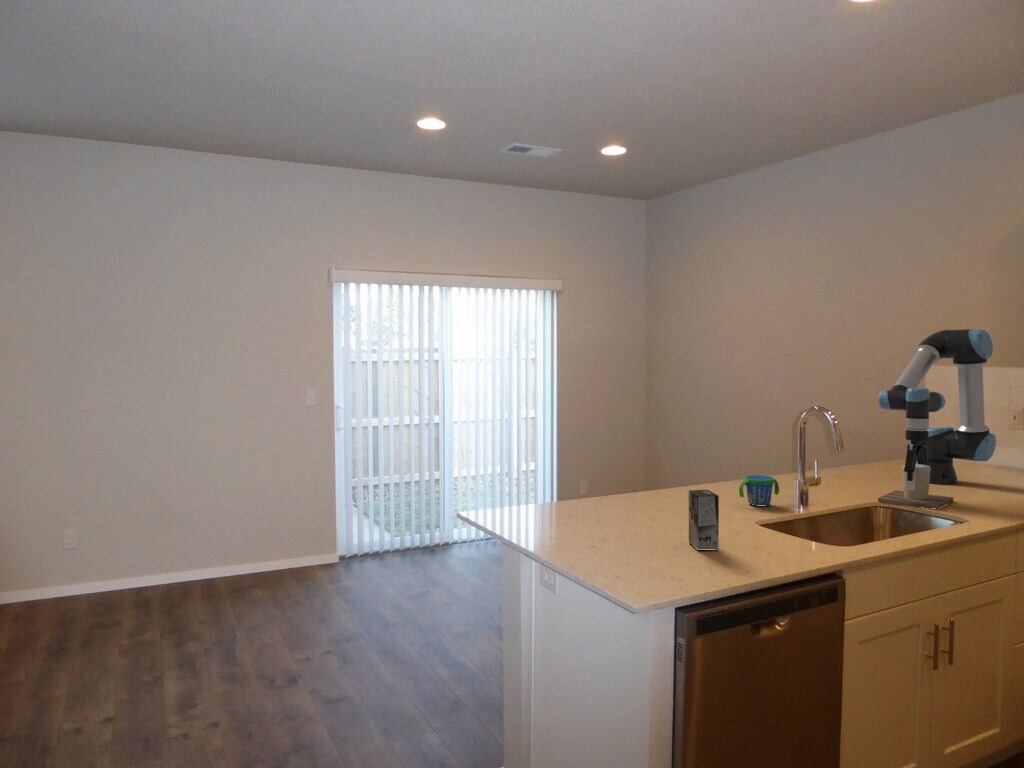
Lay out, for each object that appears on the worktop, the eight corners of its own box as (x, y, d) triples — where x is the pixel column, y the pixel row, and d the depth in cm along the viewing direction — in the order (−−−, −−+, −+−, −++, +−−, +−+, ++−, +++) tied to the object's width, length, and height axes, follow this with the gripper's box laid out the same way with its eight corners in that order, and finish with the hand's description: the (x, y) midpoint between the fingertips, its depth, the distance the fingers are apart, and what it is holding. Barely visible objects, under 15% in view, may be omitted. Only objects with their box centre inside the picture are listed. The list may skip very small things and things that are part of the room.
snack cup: (746, 509, 262) (746, 481, 261) (732, 502, 272) (732, 475, 272) (786, 507, 264) (786, 479, 264) (771, 501, 275) (771, 474, 274)
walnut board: (895, 493, 286) (895, 490, 286) (953, 501, 272) (953, 497, 271) (877, 502, 271) (877, 498, 271) (937, 510, 257) (938, 505, 257)
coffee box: (719, 551, 209) (719, 495, 208) (697, 551, 208) (698, 496, 208) (708, 542, 218) (708, 489, 217) (687, 543, 217) (687, 489, 217)
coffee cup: (923, 495, 276) (923, 463, 275) (935, 500, 266) (935, 467, 266) (897, 494, 277) (897, 463, 276) (908, 499, 267) (908, 467, 267)
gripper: (916, 426, 281) (915, 481, 282) (895, 431, 264) (894, 490, 265) (937, 427, 276) (936, 483, 277) (918, 433, 259) (916, 493, 260)
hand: (915, 487), depth 271 cm, fingers open, 12 cm apart
